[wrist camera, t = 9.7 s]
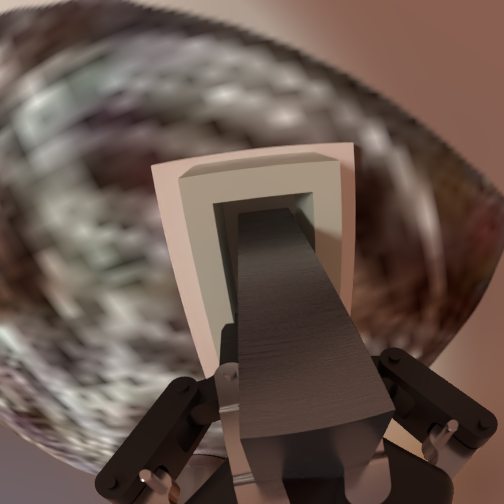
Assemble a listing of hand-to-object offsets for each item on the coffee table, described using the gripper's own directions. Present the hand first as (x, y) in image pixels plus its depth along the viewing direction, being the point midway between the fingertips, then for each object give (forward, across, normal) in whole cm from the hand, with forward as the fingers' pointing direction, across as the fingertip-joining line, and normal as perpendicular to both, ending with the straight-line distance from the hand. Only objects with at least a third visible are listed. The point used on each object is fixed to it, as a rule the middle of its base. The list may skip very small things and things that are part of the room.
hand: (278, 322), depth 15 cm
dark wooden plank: (+5, 0, 0) cm, 5 cm away
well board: (+9, 0, +5) cm, 10 cm away
